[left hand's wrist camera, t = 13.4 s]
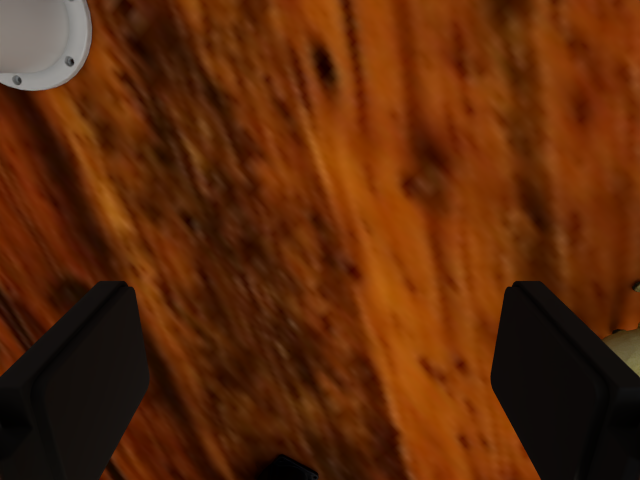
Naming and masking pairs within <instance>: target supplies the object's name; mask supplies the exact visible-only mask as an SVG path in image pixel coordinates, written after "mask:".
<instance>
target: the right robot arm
mask: <svg viewBox="0 0 640 480" xmlns="http://www.w3.org/2000/svg"><path fill="white" fill-rule="evenodd" d="M317 479H318V473H316V472H314V471H312V470H311V469H309V468H307V467H305V466H303V465H301V464H299V463H297V462H295V461H294V460H292V459H290V458H288V457H286V456H284V455H279V456H278V457H277V458H276V460H275V461H274V462H273V463H272V464H271V465H269V466H268V467H267V468H266V469H265V470H264V471H263V472H262V473H261V475H260V476H259V478H258V479H257V480H317Z"/></svg>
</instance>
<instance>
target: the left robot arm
mask: <svg viewBox="0 0 640 480" xmlns="http://www.w3.org/2000/svg"><path fill="white" fill-rule="evenodd" d="M91 40H92V24H91V17H90V11H89V8H88V5H87V2H86V0H0V83H2V84H5V85H7V86H10V87H13V88H17V89H21V90H32V91H36V90H47V89H51V88H55V87H58V86H60V85H62V84H64V83H66V82H68V81H69V80H70V79H71V78H73V77H74V76H75V75H76V74H77V73H78V72H79V70H80V69H81V68H82V66H83V65H84V63H85V61H86V58H87V56H88V54H89V50H90V45H91ZM72 59H73V60H74V64H73V63H72ZM21 80H22V81H21ZM148 385H149V370H148V364H147V358H146V352H145V346H144V340H143V335H142V329H141V323H140V317H139V311H138V305H137V300H136V294H135V290H134V288H133V287H128V285H127V283H126V282H125V281H100V282H98V283H97V284H96V285H95V286H94V287H93V288H92V289H91V290H90V291H89V292H88V293H87V294H86V295H85V296H84V297H83V298H81V299H80V300H79V301H78V302H77V303H76V304H75V305H74V306H73V307H72V308H71V309H70V310H69V311H68V312H67V313H66V314H65V315H64V316H63V317H62V318H61V319H60V320H59V321H58V322H57V323H56V324H55V325H54V326H52V327H51V328H50V329H49V330H48V331H47V332H46V333H45V334H44V335H43V336H42V337H41V338H40V339H39V340H38V341H37V342H36V343H35V344H34V345H33V346H32V347H31V348H30V349H29V350H28V351H27V352H26V353H25V354H23V355H22V356H21V357H20V358H19V359H18V360H17V361H16V362H15V363H14V364H13V365H12V366H11V367H10V368H9V369H8V370H7V371H6V372H5V373H4V374H3V375H2V376H1V377H0V480H99V478H100V476H101V475H102V473H103V471H104V469H105V467H106V465H107V463H108V462H109V460H110V458H111V456H112V454H113V452H114V450H115V449H116V447H117V445H118V443H119V441H120V439H121V437H122V436H123V434H124V432H125V430H126V428H127V426H128V424H129V423H130V421H131V419H132V417H133V415H134V413H135V411H136V409H137V408H138V406H139V404H140V402H141V400H142V398H143V396H144V395H145V393H146V391H147V389H148ZM491 385H492V389H493V391H494V393H495V395H496V396H497V398H498V400H499V402H500V404H501V406H502V408H503V409H504V411H505V413H506V415H507V417H508V419H509V421H510V423H511V424H512V426H513V428H514V430H515V432H516V434H517V436H518V437H519V439H520V441H521V443H522V445H523V447H524V449H525V450H526V452H527V454H528V456H529V458H530V460H531V462H532V463H533V465H534V467H535V469H536V471H537V473H538V475H539V476H540V478H541V480H640V377H639V376H638V375H637V374H636V373H635V372H634V371H633V370H632V369H631V368H630V367H629V366H628V365H627V364H626V363H625V362H624V361H623V360H622V359H621V358H620V357H619V356H618V355H617V354H615V353H614V352H613V351H612V350H611V349H610V348H609V347H608V346H607V345H606V344H605V343H604V342H603V341H602V340H601V339H600V338H599V337H598V336H597V335H596V334H595V333H594V332H593V331H592V330H591V329H590V328H589V327H588V326H586V325H585V324H584V323H583V322H582V321H581V320H580V319H579V318H578V317H577V316H576V315H575V314H574V313H573V312H572V311H571V310H570V309H569V308H568V307H567V306H566V305H565V304H564V303H563V302H562V301H561V300H560V299H559V298H557V297H556V296H555V295H554V294H553V293H552V292H551V291H550V290H549V289H548V288H547V287H546V286H545V285H544V284H543V283H542V282H540V281H515V282H514V283H513V285H512V287H507V288H506V290H505V294H504V300H503V305H502V311H501V317H500V323H499V329H498V335H497V340H496V346H495V352H494V358H493V364H492V370H491Z"/></svg>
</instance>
